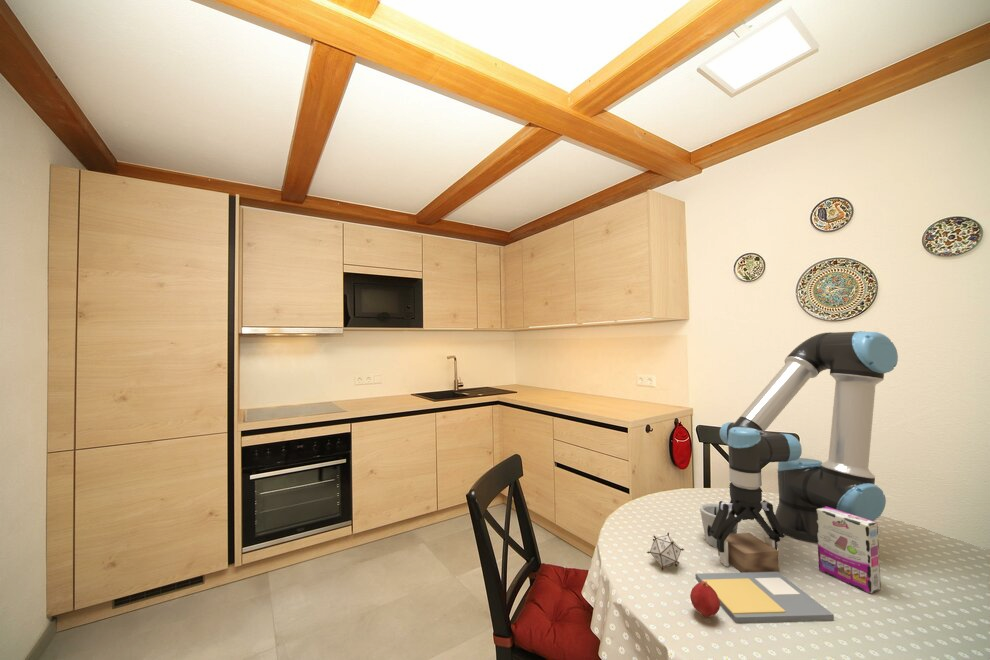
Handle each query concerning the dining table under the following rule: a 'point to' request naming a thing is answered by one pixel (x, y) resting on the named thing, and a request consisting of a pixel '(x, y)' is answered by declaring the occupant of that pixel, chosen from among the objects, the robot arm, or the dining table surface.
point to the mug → (711, 521)
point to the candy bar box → (848, 548)
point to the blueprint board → (763, 598)
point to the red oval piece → (705, 599)
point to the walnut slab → (751, 554)
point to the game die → (665, 551)
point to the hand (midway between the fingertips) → (747, 563)
